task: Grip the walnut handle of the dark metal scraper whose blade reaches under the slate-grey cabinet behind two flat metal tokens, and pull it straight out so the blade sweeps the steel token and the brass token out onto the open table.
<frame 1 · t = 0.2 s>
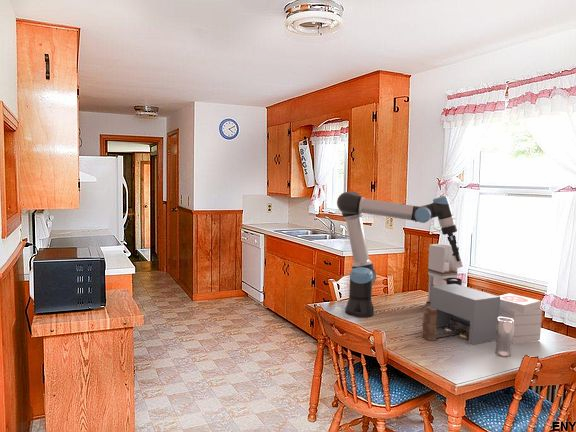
hand: (459, 265, 238), 28 cm above the table, tool tilted 20°, fingers open, 13 cm apart
brass token: (464, 337, 211), on the table
scraper: (447, 320, 211), point 7 cm above the table, slide at 0.0 cm
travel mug: (451, 316, 242), on the table
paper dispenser: (505, 333, 218), on the table
beer glass: (502, 355, 191), on the table
steel token: (449, 331, 219), on the table
grey cabinet: (461, 333, 216), on the table
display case: (440, 307, 260), on the table
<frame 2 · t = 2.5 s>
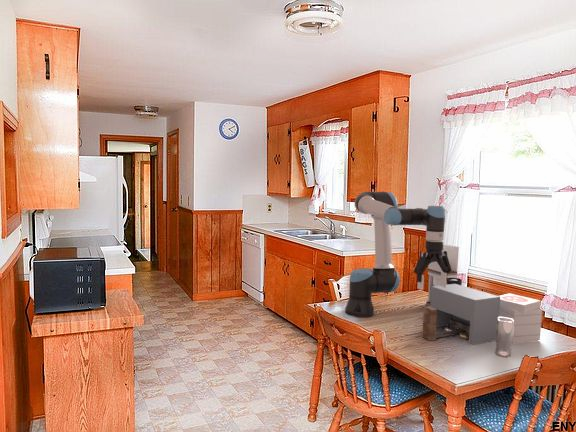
hand: (431, 288, 204), 23 cm above the table, tool pointing down, fingers open, 13 cm apart
nothing on the table moved.
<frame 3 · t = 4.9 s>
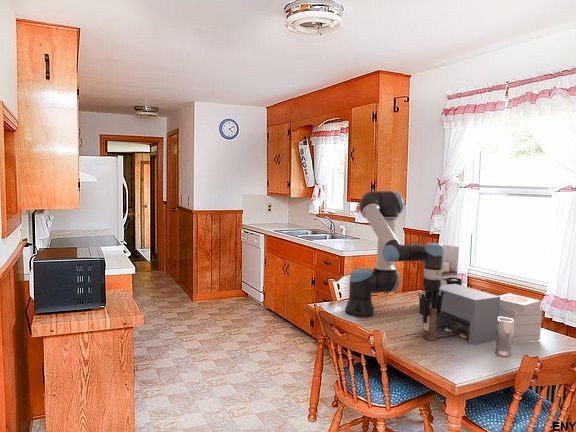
hand: (429, 329, 206), 5 cm above the table, tool pointing down, fingers closed on scraper, 3 cm apart
scraper: (447, 320, 211), point 7 cm above the table, slide at 0.0 cm, touching gripper
everything else where it was.
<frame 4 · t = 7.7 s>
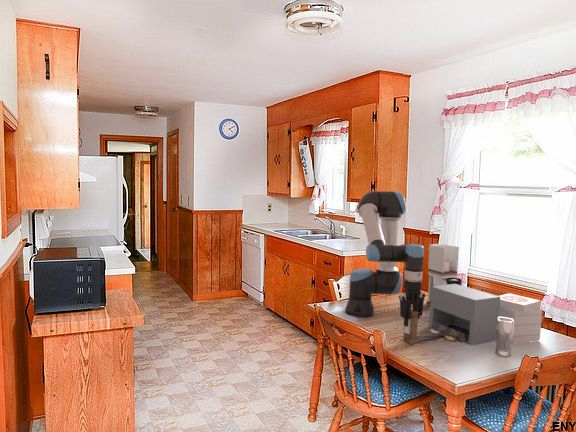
hand: (410, 332, 201), 5 cm above the table, tool pointing down, fingers closed on scraper, 3 cm apart
brass token: (450, 339, 207), on the table
scraper: (429, 323, 206), point 7 cm above the table, slide at 11.1 cm, touching gripper
steel token: (435, 333, 215), on the table
everything else where it was.
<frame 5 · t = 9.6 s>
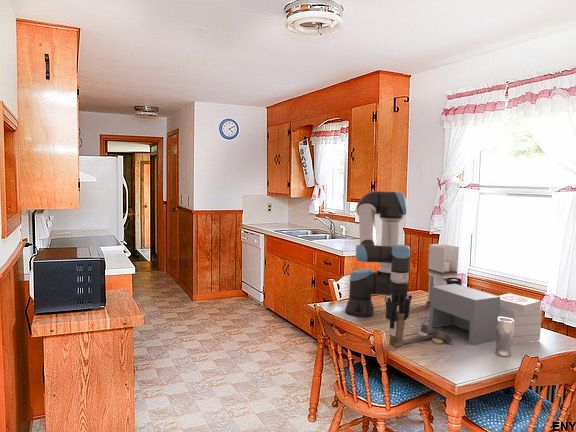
hand: (396, 334, 197), 5 cm above the table, tool pointing down, fingers closed on scraper, 3 cm apart
brass token: (437, 342, 203), on the table, touching scraper
scraper: (416, 325, 202), point 7 cm above the table, slide at 18.8 cm, touching brass token, gripper
steel token: (423, 336, 211), on the table
everything else where it was.
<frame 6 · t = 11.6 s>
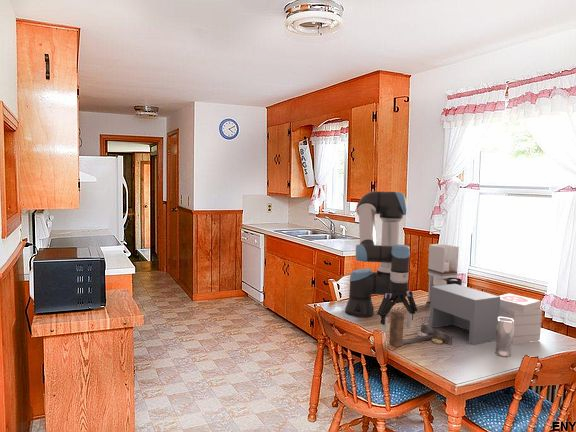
hand: (396, 329, 197), 7 cm above the table, tool pointing down, fingers open, 13 cm apart
brass token: (437, 342, 203), on the table
scraper: (416, 325, 202), point 7 cm above the table, slide at 19.0 cm
everything else where it was.
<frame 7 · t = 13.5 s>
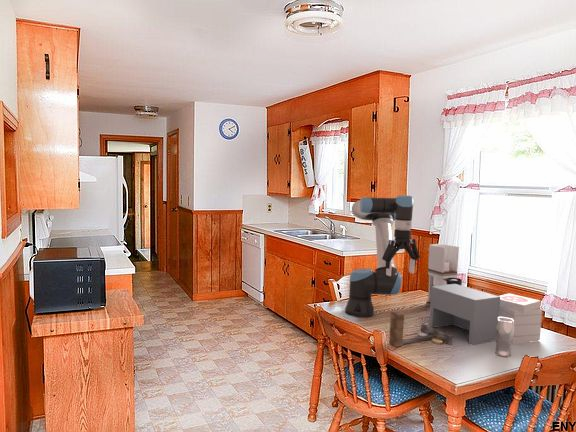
hand: (400, 274, 213), 27 cm above the table, tool pointing down, fingers open, 13 cm apart
nothing on the table moved.
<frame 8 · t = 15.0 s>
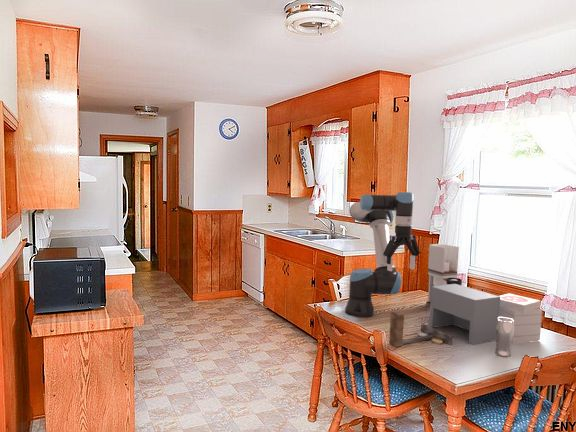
hand: (401, 269, 216), 29 cm above the table, tool pointing down, fingers open, 13 cm apart
nothing on the table moved.
at the end: steel token inside the target area (4.4 cm from its centre), on the table; brass token inside the target area (4.4 cm from its centre), on the table; scraper slide at 19.0 cm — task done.
